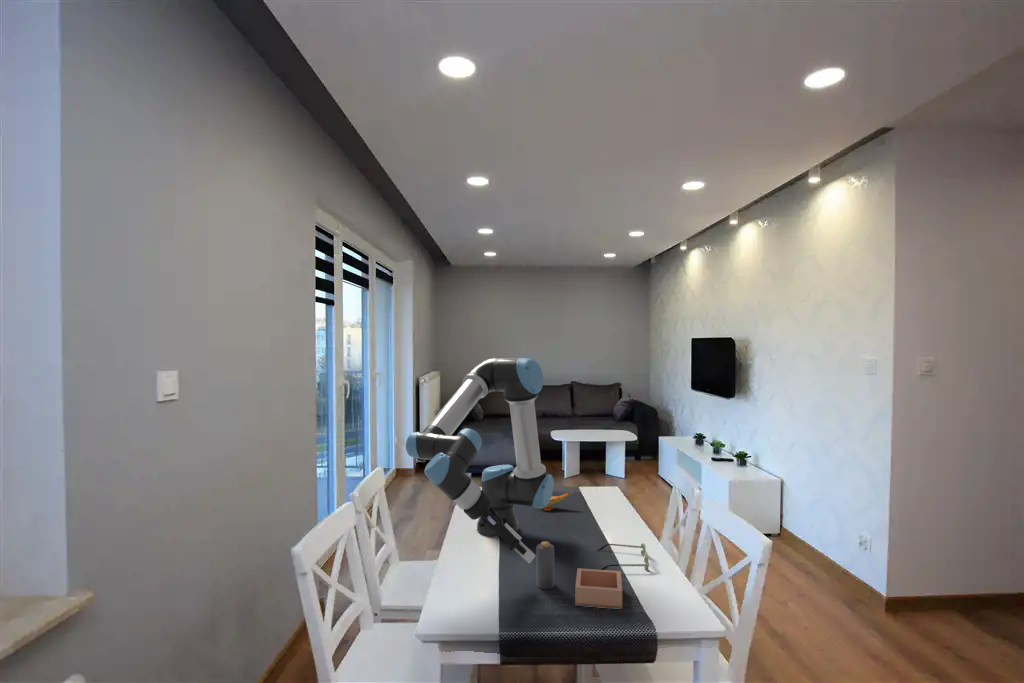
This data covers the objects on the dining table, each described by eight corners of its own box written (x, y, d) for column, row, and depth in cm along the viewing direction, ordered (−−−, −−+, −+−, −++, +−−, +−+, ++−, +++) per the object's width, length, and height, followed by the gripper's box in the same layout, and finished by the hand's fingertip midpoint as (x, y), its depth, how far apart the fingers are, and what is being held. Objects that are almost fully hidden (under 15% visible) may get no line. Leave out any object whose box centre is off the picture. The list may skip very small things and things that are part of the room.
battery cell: (535, 588, 151) (535, 545, 151) (537, 580, 156) (537, 539, 156) (553, 589, 150) (553, 546, 150) (554, 582, 155) (554, 540, 155)
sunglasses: (649, 576, 160) (649, 559, 160) (597, 572, 162) (597, 556, 162) (643, 553, 177) (643, 538, 177) (597, 551, 179) (597, 536, 179)
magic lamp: (573, 511, 219) (573, 484, 219) (529, 510, 220) (528, 483, 220) (573, 506, 225) (573, 480, 225) (529, 505, 227) (529, 479, 227)
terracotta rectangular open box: (575, 606, 141) (575, 587, 141) (577, 585, 152) (577, 568, 152) (622, 610, 139) (622, 590, 139) (620, 589, 150) (620, 571, 150)
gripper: (455, 497, 158) (504, 544, 162) (471, 525, 134) (528, 579, 138) (473, 478, 159) (521, 524, 163) (491, 502, 135) (548, 556, 139)
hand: (525, 550), depth 150 cm, fingers open, 13 cm apart
